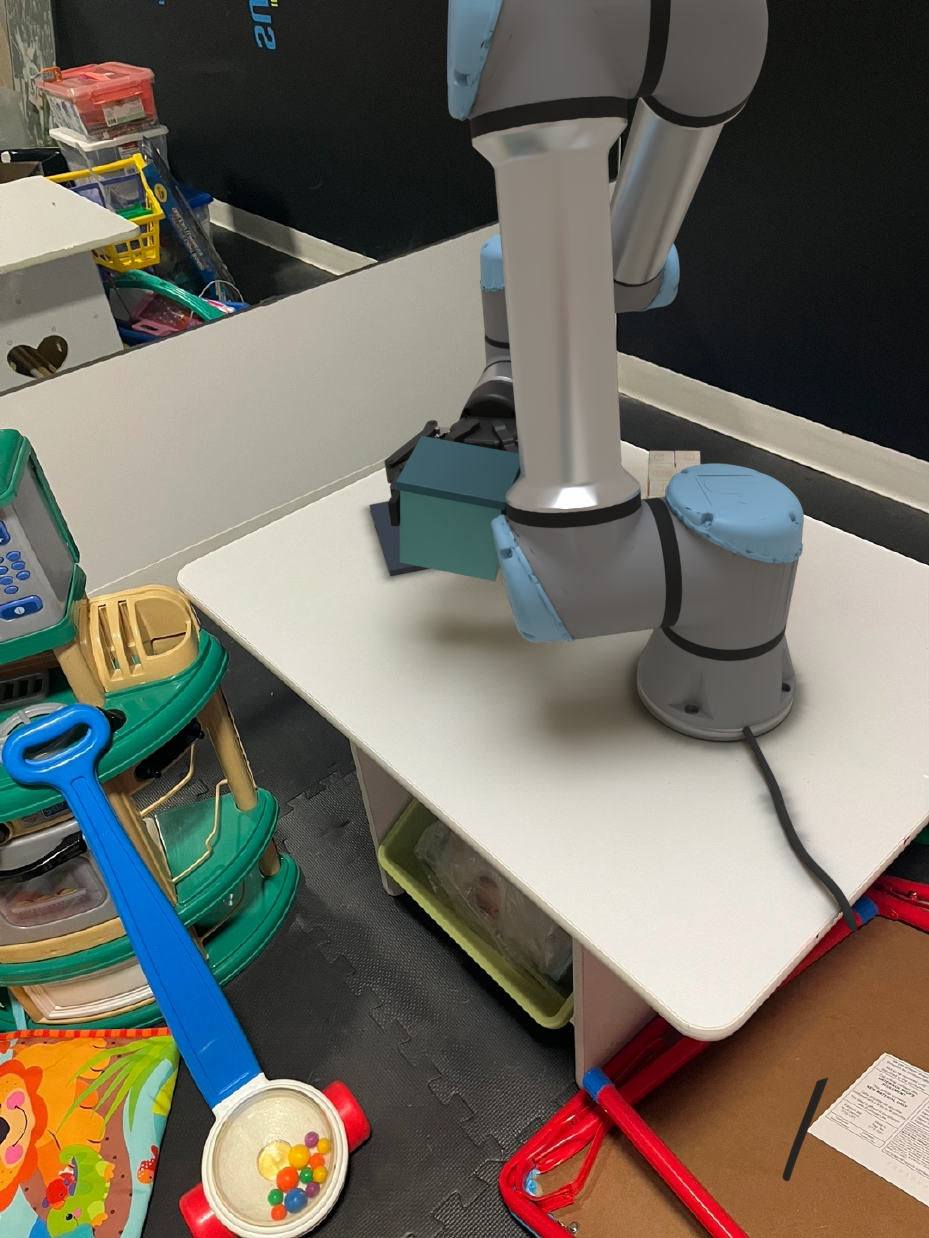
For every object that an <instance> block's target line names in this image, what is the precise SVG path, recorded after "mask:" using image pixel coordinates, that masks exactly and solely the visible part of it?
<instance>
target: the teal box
mask: <svg viewBox="0 0 929 1238" xmlns="http://www.w3.org/2000/svg"><path fill="white" fill-rule="evenodd" d="M519 472H520V459H519V454H518V453H513V452H507V451H502V450H496V449H491V448H485V447H480V446H474V445H469V444H463V443H458V442H452V441H447V440H441V439H436V438H430V437H425V436H421V438H420V440H419V441H418V443H417V445H416V447H415V449H414V451H413V452H412V454H411V456H410V458H409V460H408V461H407V463H406V465H405V467H404V469H403V470H402V472H401V474H400V476H399V478H398V479H397V481H396V490H400V562H401V563H406V564H411V565H416V566H421V567H426V569H432V570H437V571H442V572H446V573H451V574H455V575H461V576H466V577H471V578H474V579H475V578H476V579H481V580H485V581H491V582H496V580H497V577H498V575H499V571H500V570H501V569H500V565H499V561H498V557H497V552H496V548H495V544H494V539H493V531H492V528H491V522H492V520H493V519H495V518H497V517H498V516H499V515H501V510H505V509H506V497H505V495H506V493H507V491H508V490H509V489H510V488H511V487H512V485H513V484H514V483H515V482H516V480H517V477H518V474H519Z"/></svg>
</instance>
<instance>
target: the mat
mask: <svg viewBox="0 0 929 1238" xmlns="http://www.w3.org/2000/svg"><path fill="white" fill-rule="evenodd" d="M388 501H389V500H386V501H382V502H376V503H372V504H369V510H370V515H371V517H372V520H373V523H374V527H375V531H376V533H377V536H378V540H379V543H380V547H381V550H382V553H383V556H384V559H385V562H386V567H387V570H388V572H389V576H391V577H392V576H397V575H402V574H406V573H410V572H416V571H421V570H425V569H427V568H426V567H421V566H416V565H411V564H406V563H401V562H400V525H399V527H398V526H391V520H390V514H389V508H388Z"/></svg>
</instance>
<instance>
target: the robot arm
mask: <svg viewBox="0 0 929 1238" xmlns="http://www.w3.org/2000/svg"><path fill="white" fill-rule="evenodd" d="M447 12H448V13H447V48H446V49H447V53H446V54H447V55H446V57H447V60H446V61H447V62H446V67H447V68H446V70H447V71H446V72H447V74H446V75H447V76H446V77H447V79H446V80H447V105H448V113H449V114H450V116H451V117H452V118H453V119H457V120H459V121H461V122H463V121H465V120H469V126H470V137H471V145H472V147H473V148H474V149H475V150H476V151H477V152H479V154H480V155H482V156H483V158H484V159H486V160H487V161H488V162H489V163H490V164H491V167H492V168H493V170H494V183H495V193H496V204H497V214H498V216H497V217H498V227H499V234H496V235H494V236H492V237H490V238H489V239H487V240H485V242H484V243H483V244H482V246H481V249H480V255H479V258H480V262H479V263H480V280H479V285H480V292H481V293H480V294H481V305H482V317H483V318H482V319H483V328H484V330H483V331H484V351H485V367H484V369H483V371H482V373H481V374H480V376H479V378H478V380H477V382H476V383H475V386H474V388H472V391H471V393H470V395H469V397H468V398H467V401H466V402H465V404H464V406H463V407H462V411H461V412H460V416H459V419H458V421H456V422H454V423H453V424H451V426H450V427H445V426H439V424H438V420H435V419H431V420H427V422H426V423H425V424H424V427H423V429H422V430H421V431H420V432H419V433H417V434H415V436H413V437H412V438H411V439H410V440H408V441H407V442H406V443H404V444H403V445H401V447H400V448H398V449H397V450H396V451H394V452H393V453H392V454H391V455H389V456H388V457H387V458H385V459H384V469H385V475H386V482H387V483H388V484H390V485H389V491H390V498H389V500H387V501H388V508H389V514H390V520H391V526H398V527H399V525H400V490H396V481H397V479H398V478H399V476H400V474H401V472H402V470H403V469H404V467H405V465H406V463H407V461H408V460H409V458H410V456H411V454H412V452H413V451H414V449H415V447H416V445H417V443H418V441H419V440H420V438H421V436H425V437H430V438H436V439H441V440H447V441H452V442H458V443H463V444H469V445H474V446H480V447H485V448H491V449H496V450H502V451H507V452H513V453H518V454H519V459H520V472H519V474H518V477H517V480H516V482H515V483H514V484H513V485H512V487H511V488H510V489H509V490H508V491H507V493H506V495H505V497H506V509H505V510H501V515H499V516H498V517H497V518H495V519H493V520H492V522H491V528H492V531H493V539H494V544H495V548H496V552H497V557H498V561H499V565H500V569H499V570H500V572H501V576H502V581H503V585H504V588H505V592H506V595H507V600H508V603H509V604H508V605H509V607H510V611H511V614H512V618H513V621H514V624H515V627H516V629H517V631H518V633H519V634H520V635H521V637H522V638H523V639H525V640H526V641H529V642H532V643H551V642H561V641H563V642H565V641H567V643H573V642H575V641H576V640H582V639H591V638H597V637H598V638H599V637H606V636H613V635H619V634H626V633H634V632H641V631H649V630H652V632H651V635H650V637H649V639H648V641H647V643H646V644H645V647H644V648H643V650H642V652H641V654H640V656H639V660H638V663H637V670H636V688H637V694H638V696H639V699H640V701H641V702H642V704H643V706H645V708H646V709H647V710H648V711H649V713H650V714H651V715H652V716H653V717H654V718H656V719H657V720H658V721H659V722H661V723H662V724H664V725H665V726H667V727H669V728H670V729H672V730H674V731H676V732H679V733H681V734H684V735H687V736H690V737H693V738H696V739H697V738H698V739H702V740H708V741H709V740H710V741H720V742H721V741H722V742H724V741H725V742H729V741H731V742H732V741H740V740H746V742H747V744H748V746H749V747H750V750H751V751H752V753H753V756H754V758H755V759H756V762H757V763H758V766H759V767H760V769H761V771H762V773H763V775H764V777H765V780H766V782H767V784H768V787H769V789H770V792H771V795H772V798H773V801H774V805H775V808H776V811H777V814H778V817H779V819H780V821H781V824H782V826H783V829H784V832H785V834H786V836H787V839H788V840H789V842H790V844H791V845H792V847H793V849H794V851H795V853H796V855H798V857H799V859H800V860H801V861H802V863H803V864H804V865H805V866H806V867H807V869H808V870H809V871H810V872H811V873H812V874H813V875H814V876H815V877H816V878H817V879H818V880H819V881H820V882H821V884H823V885H824V886H825V888H827V889H828V891H829V892H830V893H831V895H832V896H833V898H834V899H835V900H836V902H837V904H838V907H839V908H840V910H841V913H842V916H843V918H844V921H845V924H846V927H847V929H849V930H850V931H852V932H857V931H858V928H859V927H858V923H857V919H856V916H855V914H854V911H853V909H852V906H851V903H850V901H849V900H848V899H847V897H846V895H845V893H844V892H843V890H842V889H841V888H840V886H839V885H838V883H836V881H835V880H834V879H833V878H832V877H831V875H829V874H828V873H827V872H826V871H825V870H824V869H823V868H822V867H821V866H820V865H819V864H818V863H817V862H816V860H814V858H813V857H812V856H811V855H810V854H809V852H808V851H807V850H806V848H805V847H804V844H803V843H802V842H801V839H800V838H799V836H798V833H797V832H796V829H795V827H794V825H793V822H792V820H791V818H790V815H789V813H788V810H787V807H786V803H785V801H784V797H783V794H782V791H781V787H780V786H779V783H778V781H777V779H776V777H775V775H774V772H773V771H772V768H771V767H770V765H769V763H768V760H766V757H765V755H764V753H763V751H762V749H761V747H760V745H759V743H758V741H757V739H756V737H757V736H759V735H763V734H765V733H767V732H769V731H771V730H772V729H774V728H775V727H776V726H778V725H779V724H780V723H782V722H783V720H785V718H786V717H787V715H788V714H789V712H790V711H791V708H792V706H793V701H794V697H795V692H796V673H795V669H794V665H793V661H792V657H791V652H790V648H789V645H788V641H787V636H786V629H787V626H788V625H787V624H788V619H789V614H790V610H791V609H790V608H791V603H792V598H793V592H794V587H795V582H796V577H797V571H798V567H799V560H800V557H801V556H802V554H803V550H804V545H803V544H804V543H803V533H804V532H803V531H804V523H805V522H804V521H805V516H804V510H803V507H802V504H801V502H800V500H799V498H798V497H797V496H796V494H794V492H793V491H792V490H791V489H790V488H789V487H788V486H786V485H785V484H783V483H782V482H781V481H779V480H778V479H776V478H774V477H772V476H771V475H768V474H765V473H763V472H760V471H759V470H757V469H756V470H755V469H752V468H748V467H745V466H741V465H735V464H728V463H700V465H695V466H691V467H688V468H685V469H683V470H682V471H681V472H680V473H677V474H675V475H674V476H673V477H672V478H671V480H670V482H669V484H668V486H667V487H666V489H665V496H663V497H656V498H648V499H647V498H642V488H641V483H640V481H639V480H638V479H637V478H636V477H634V476H633V475H632V474H631V473H629V471H627V470H626V468H624V467H623V463H622V442H621V439H622V438H621V420H620V418H621V417H620V396H619V394H620V393H619V376H618V375H619V373H618V372H619V371H618V353H617V351H618V350H617V332H616V331H617V329H616V314H621V313H622V314H623V313H630V312H635V313H637V312H641V313H642V312H646V311H648V310H650V309H655V308H661V307H666V306H668V305H670V304H672V302H673V301H674V300H675V298H676V297H677V294H678V290H679V287H678V285H679V282H680V274H681V273H680V260H679V254H678V250H677V248H676V245H675V243H674V242H675V240H676V238H677V236H678V234H679V231H680V229H681V226H682V224H683V222H684V219H685V218H686V215H687V212H688V209H689V208H690V205H691V203H692V201H693V198H694V196H695V193H696V191H697V188H698V186H699V184H700V182H701V180H702V177H703V175H704V172H705V170H706V167H707V165H708V162H709V160H710V158H711V156H712V153H713V151H714V148H715V147H716V144H717V141H718V139H719V136H720V134H721V133H722V130H723V127H724V126H725V124H726V123H728V122H730V121H732V119H734V118H735V117H736V116H737V115H738V114H739V113H740V112H741V111H742V110H743V109H744V107H745V106H746V104H747V102H748V101H749V98H750V96H751V94H752V92H753V90H754V87H755V85H756V83H757V80H758V78H759V76H760V73H761V70H762V67H763V66H762V65H763V63H764V60H765V56H766V50H767V44H768V32H769V12H768V4H767V0H448V11H447ZM632 99H638V100H637V103H636V108H635V111H634V115H633V118H632V123H631V126H630V130H629V132H628V137H627V139H626V144H625V148H624V152H623V155H622V159H621V163H620V165H619V170H618V173H617V176H616V180H615V184H614V188H613V192H612V195H610V176H609V175H610V174H609V154H610V149H611V148H612V147H613V145H614V144H615V143H616V141H617V140H618V139H619V137H620V136H621V134H622V133H623V132H624V131H625V130H626V128H627V126H628V103H627V102H628V101H627V100H632ZM610 197H611V198H610ZM828 1081H829V1077H825V1078H821V1079H818V1080H816V1083H815V1084H814V1088H813V1091H812V1093H811V1096H810V1097H809V1098H810V1099H809V1101H808V1103H807V1106H806V1109H805V1112H804V1113H803V1117H802V1119H801V1122H800V1125H799V1127H798V1129H797V1133H796V1135H795V1138H794V1141H793V1143H792V1146H791V1148H790V1152H789V1155H788V1157H787V1160H786V1162H785V1163H786V1164H785V1166H784V1170H783V1172H782V1179H783V1181H785V1182H790V1180H791V1177H792V1174H793V1171H794V1169H795V1165H796V1163H797V1160H798V1157H799V1155H800V1152H801V1149H802V1146H803V1144H804V1141H805V1139H806V1136H807V1133H808V1131H809V1128H810V1126H811V1124H812V1121H813V1118H814V1115H815V1114H816V1111H817V1108H818V1107H819V1104H820V1102H821V1099H822V1096H823V1093H824V1091H825V1089H826V1086H827V1083H828Z"/></svg>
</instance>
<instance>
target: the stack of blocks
mask: <svg viewBox="0 0 929 1238" xmlns="http://www.w3.org/2000/svg"><path fill="white" fill-rule="evenodd" d="M700 464H701V451H700V450H674V451H673V450H649V451H648V465H647V466H648V467H647V486H646V487H647V488H646V489H647V490H646V492H647V493H646V499H648V498H656V497H663V496H665V489H666V487H667V486H668V484H669V482H670V480H671V478H672V477H673V476H674V475H675V474H677V473H680V472H681V471H682V470H683V469H685V468H688V467H691V466H695V465H700Z"/></svg>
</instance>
